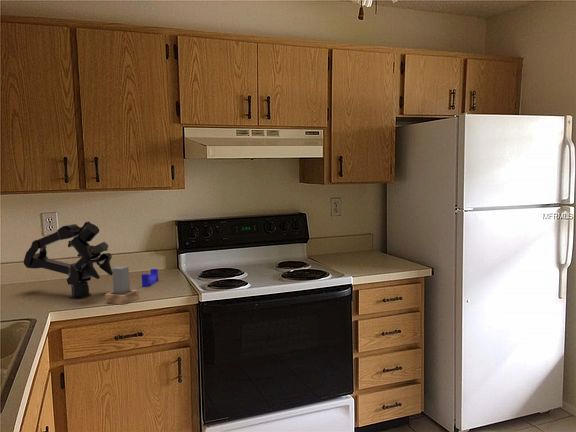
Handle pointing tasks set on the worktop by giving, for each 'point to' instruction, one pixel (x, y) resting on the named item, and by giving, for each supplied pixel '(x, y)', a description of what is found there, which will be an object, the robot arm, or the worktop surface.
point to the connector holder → (121, 297)
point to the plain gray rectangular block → (121, 280)
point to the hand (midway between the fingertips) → (105, 276)
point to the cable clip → (150, 278)
